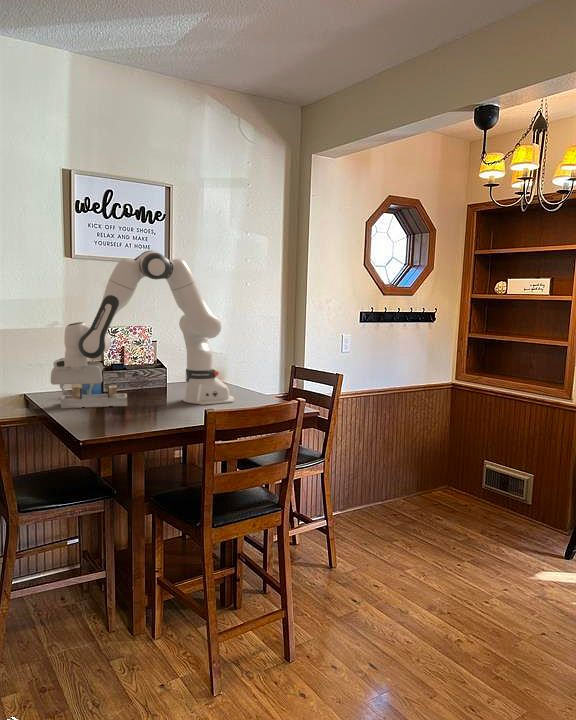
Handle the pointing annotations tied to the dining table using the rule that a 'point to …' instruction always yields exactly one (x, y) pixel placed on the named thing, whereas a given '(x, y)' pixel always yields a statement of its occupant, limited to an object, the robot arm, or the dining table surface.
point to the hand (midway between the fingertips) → (77, 394)
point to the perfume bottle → (95, 389)
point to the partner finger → (112, 391)
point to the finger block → (77, 392)
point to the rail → (93, 401)
